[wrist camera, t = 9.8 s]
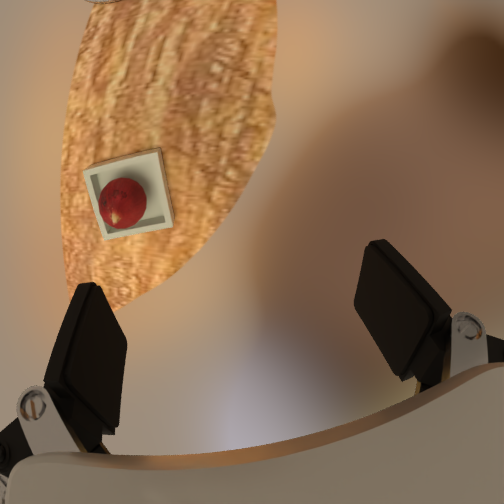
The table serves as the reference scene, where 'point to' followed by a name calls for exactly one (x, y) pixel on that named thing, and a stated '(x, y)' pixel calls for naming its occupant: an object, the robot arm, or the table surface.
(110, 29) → the table surface
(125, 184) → the onion
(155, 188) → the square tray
